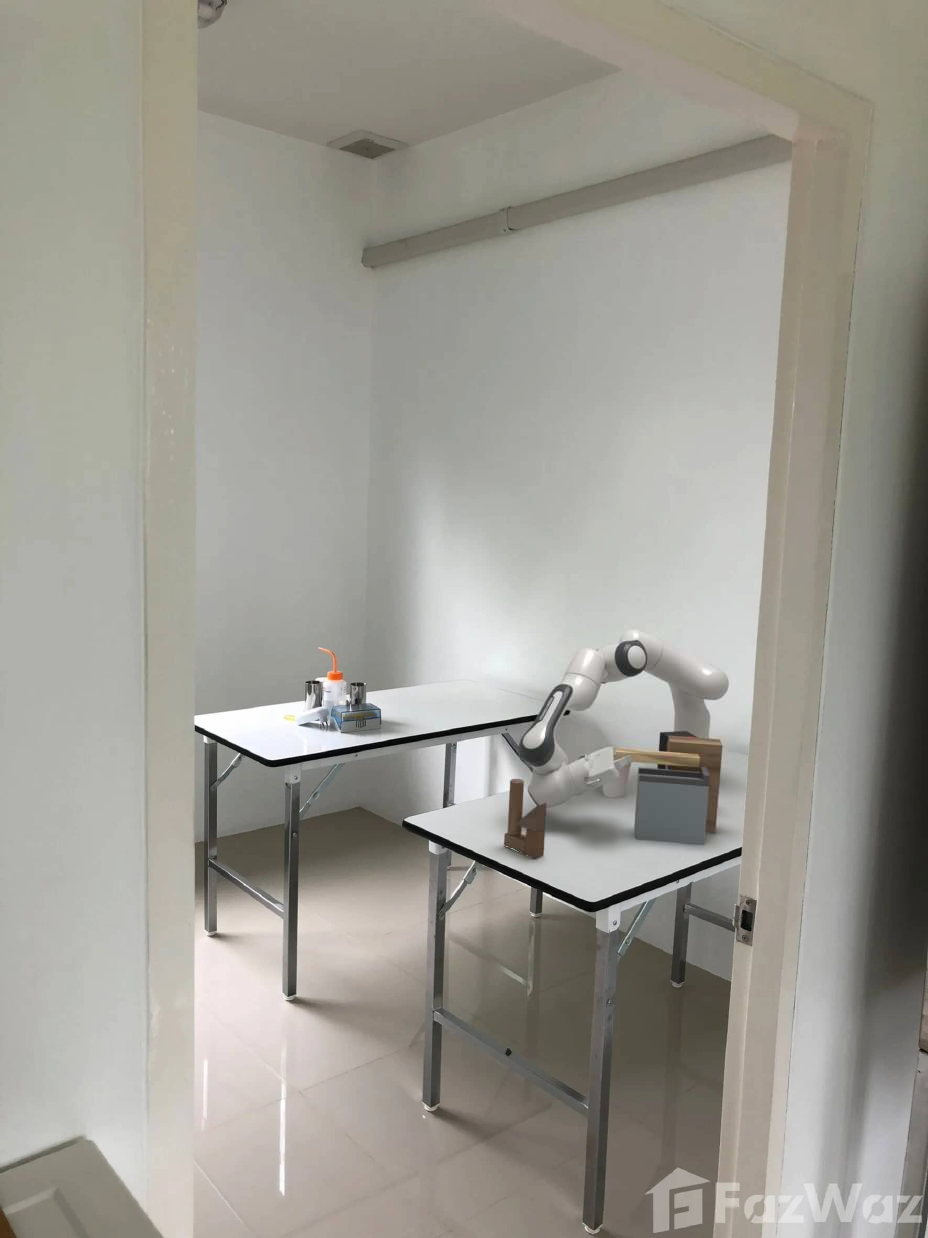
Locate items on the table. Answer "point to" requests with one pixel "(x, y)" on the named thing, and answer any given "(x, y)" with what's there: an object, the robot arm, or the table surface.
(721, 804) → the table surface
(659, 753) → the slat
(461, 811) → the table surface
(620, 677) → the robot arm
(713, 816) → the brown wooden plank
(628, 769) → the foam cup
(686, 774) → the grey box
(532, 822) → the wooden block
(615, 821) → the table surface
